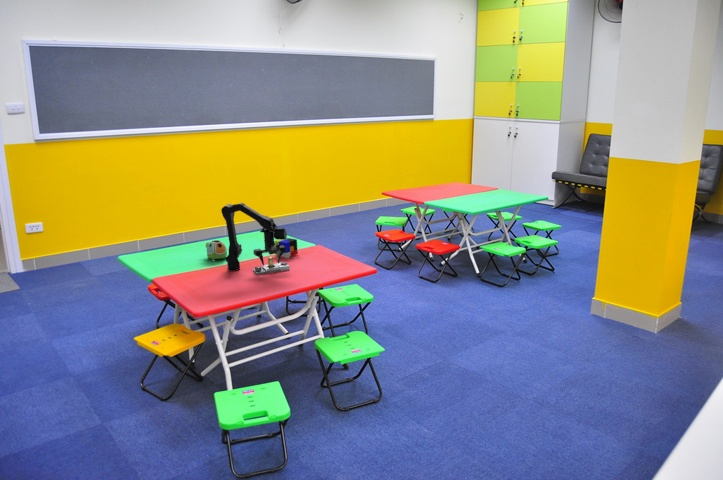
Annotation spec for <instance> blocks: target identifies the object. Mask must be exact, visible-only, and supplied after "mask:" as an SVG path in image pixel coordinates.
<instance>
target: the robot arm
mask: <svg viewBox="0 0 723 480" xmlns="http://www.w3.org/2000/svg"><path fill="white" fill-rule="evenodd" d="M220 210H221V211H220V212H221V214H222V218H223V219H224V221H225V224H226V231H227V237H228V242H229V245H228V254H227V256H226V258H224V260H225V262H226V263H227V264H226V265H227V268H226V269H227V271H228V272H233V271H239V270H241V265H240V260H239V259H238V258H239V257H240V256H241V255H242V251H243V247H242V243H241V244H239V242H238V239H237V231H236V227H235V220H234V219H235V213H236V212H241V213H243V214H245V215H247V216H248V217H250V218H252V219H253V220H255V221H256V222H257V223H258V225H260V226H261V227H262V228H261V230H260V231H259V232H260V233H263V242H264V249H261V248H255V249H253V251H252V252H253V255H254V256H255V257H258V258H259V260H260V262H261V264H262V265H263V266H264V265H265V264H264V263H265V262H264V255H263V254H265V253H266V254H267V253H268V255H270V256H271V255H276V254H277V256H276V257H277V263H280V260H281V258H282V257H281V255H282V254H283V253H284V252H286V247H284V246H283V245H282V246H280V245H275V241H276V240H279V239H281V240H286V238H288V233H287V230H286V228H285V227H281V228H279V227H278V225H277V224H276V223H275V222H274V221H275V220H274V219H273V218H272V217H269V216H267V215H264V214H261V213H259V212H258V211H256V210H254V209H253V208H251V207H249V206H248V205H246V204H245V203H243V202H240V203H235V204H231V203H230V204H229V203H228V204H226V205H224V206H223V207H222V208H221V209H220Z"/></svg>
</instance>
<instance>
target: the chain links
mask: <svg viewBox="0 0 723 480" xmlns="http://www.w3.org/2000/svg"><path fill="white" fill-rule="evenodd" d="M273 265H274V267H271V268H269V266H268V264H264V266H263V264H262V265H261V266H255V267H254V268H253V269H252V271H253V272H254V274H255V275H257V276H259V275H265V274H271V273H276V272H277V273H278V272H283V271H290V265H289V264H288V262H286V261H284V262H283V261H282V262H279V263H278V262H277V263H273Z"/></svg>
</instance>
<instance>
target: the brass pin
mask: <svg viewBox="0 0 723 480" xmlns="http://www.w3.org/2000/svg"><path fill="white" fill-rule="evenodd" d="M273 264H274V256H268V257H267V265H268V266H269V268H271V267H274V265H273Z"/></svg>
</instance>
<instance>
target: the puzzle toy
mask: <svg viewBox="0 0 723 480" xmlns="http://www.w3.org/2000/svg"><path fill="white" fill-rule="evenodd" d="M274 241H275V245H280V246H282V245H283V246H284V247H286V252H284V253H283V254H282V255H281V258H285V259H287V258H290V256H291V257H293V255H294V256H297V255H298V239H295V238H291V237H287V238H286V240H281V239H275V240H274ZM296 254H297V255H296ZM275 256H276V257H277V254H275Z"/></svg>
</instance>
